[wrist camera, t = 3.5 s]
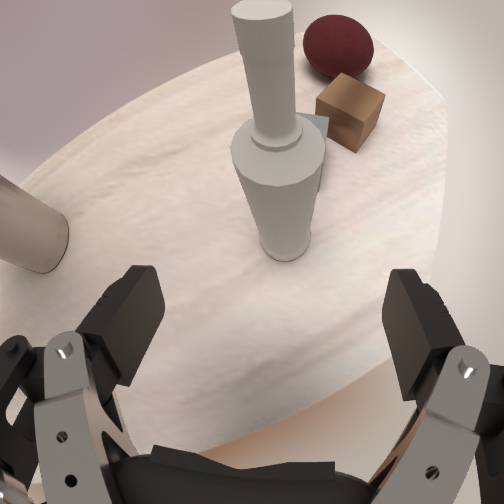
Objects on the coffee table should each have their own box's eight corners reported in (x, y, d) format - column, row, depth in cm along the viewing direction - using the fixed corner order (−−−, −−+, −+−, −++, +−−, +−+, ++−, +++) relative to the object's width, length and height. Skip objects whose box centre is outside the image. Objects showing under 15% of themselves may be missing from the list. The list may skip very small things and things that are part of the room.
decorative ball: (329, 100, 36) (334, 43, 26) (290, 62, 39) (287, 11, 29) (381, 82, 36) (394, 31, 26) (341, 48, 39) (345, 0, 29)
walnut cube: (314, 130, 35) (316, 97, 29) (337, 104, 35) (341, 72, 30) (355, 153, 33) (364, 122, 27) (375, 125, 34) (385, 94, 28)
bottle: (285, 207, 32) (262, -24, 8) (320, 239, 31) (370, 11, 7) (250, 239, 32) (157, 24, 8) (285, 273, 30) (260, 66, 6)
